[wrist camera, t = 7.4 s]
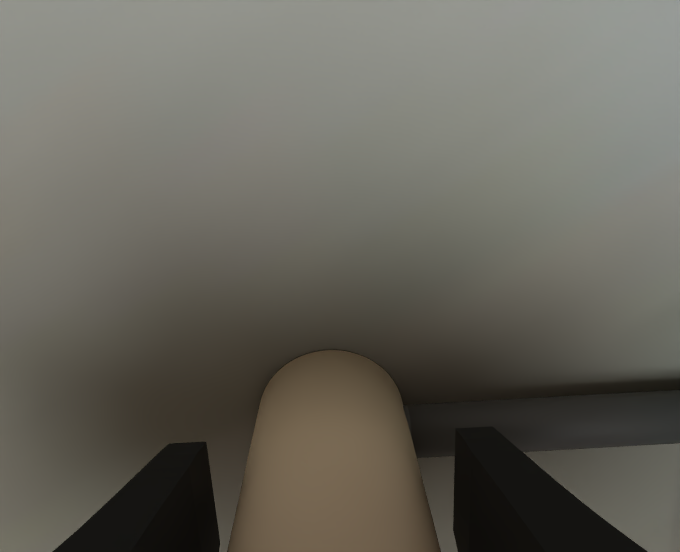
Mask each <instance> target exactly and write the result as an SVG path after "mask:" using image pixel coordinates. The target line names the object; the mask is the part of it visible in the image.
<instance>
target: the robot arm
mask: <svg viewBox="0 0 680 552" xmlns="http://www.w3.org/2000/svg"><path fill="white" fill-rule="evenodd" d="M453 531H454V535H455V540H456V544H457V549H458V552H647V551H646V550H645V549H643V548H642V547H640V546H639V545H638V544H636V543H635V542H634V541H632V540H631V539H630V538H628V537H627V536H625V535H624V534H623V533H621V532H620V531H619V530H617V529H616V528H614V527H613V526H612V525H610V524H609V523H608V522H607V521H605V520H604V519H603V518H601V517H600V516H599V515H598V514H596V513H595V512H594V511H592V510H591V509H590V508H589V507H587V506H586V505H585V504H584V503H582V502H581V501H580V500H579V499H577V498H576V497H575V496H574V495H572V494H571V493H570V492H569V491H568V490H566V489H565V488H564V487H563V486H561V485H560V484H559V483H558V482H557V481H555V480H554V479H553V478H552V477H551V476H549V475H548V474H547V473H546V472H545V471H544V470H542V469H541V468H540V467H539V466H538V465H537V464H535V463H534V462H533V461H532V460H531V459H530V458H529V457H527V456H526V455H525V454H524V453H523V452H522V451H520V450H519V449H518V448H517V447H516V446H515V445H514V444H512V443H511V442H510V441H509V440H508V439H507V438H506V437H504V436H503V435H502V434H501V433H500V432H499V431H497V430H496V429H495V428H494V427H493V426H490V427H471V428H455V473H454V522H453ZM219 547H220V539H219V531H218V524H217V517H216V510H215V503H214V495H213V488H212V481H211V474H210V466H209V459H208V452H207V445H206V442H192V443H173V444H168V445H167V446H166V447H165V448H164V449H163V450H162V451H160V452H159V453H158V454H157V455H156V456H155V457H154V458H153V459H152V460H151V461H150V462H149V463H148V464H147V465H146V466H145V467H144V468H143V469H142V470H141V471H140V472H139V473H138V474H136V475H135V476H134V477H133V478H132V479H131V480H130V481H129V482H128V483H127V484H126V485H125V486H124V487H123V488H122V489H121V490H120V491H119V492H118V493H117V494H116V495H115V496H114V497H112V498H111V499H110V500H109V501H108V502H107V503H106V504H105V505H104V506H103V507H102V508H101V509H100V510H99V511H98V512H97V513H95V514H94V515H93V516H92V517H91V518H90V519H89V520H88V521H87V522H86V523H85V524H84V525H83V526H82V527H80V528H79V529H78V530H77V531H76V532H75V533H74V534H73V535H71V536H70V537H69V538H68V539H67V540H66V541H64V542H63V543H62V544H61V545H60V546H59V547H58V548H56V549H55V550H54V551H53V552H219Z"/></svg>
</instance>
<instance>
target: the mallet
mask: <svg viewBox="0 0 680 552" xmlns="http://www.w3.org/2000/svg"><path fill="white" fill-rule="evenodd" d="M490 426H493V427H494V428H495V429H496V430H497V431H499V432H500V433H501V434H502V435H503V436H504V437H506V438H507V439H508V440H509V441H510V442H511V443H512V444H514V445H515V446H516V447H517V448H518V449H519V450H520V451H522V452H531V451H548V450H566V449H584V448H602V447H619V446H637V445H655V444H673V443H680V390H670V391H652V392H634V393H616V394H598V395H579V396H561V397H543V398H525V399H507V400H489V401H471V402H453V403H435V404H417V405H404V406H403V402H402V398H401V395H400V392H399V390H398V388H397V386H396V384H395V382H394V381H393V379H392V378H391V377H390V376H389V374H388V373H387V372H386V371H385V370H384V369H383V368H382V367H380V366H379V365H377V364H376V363H375V362H373V361H371V360H369V359H368V358H366V357H363V356H361V355H358V354H355V353H351V352H347V351H339V350H325V351H317V352H313V353H309V354H306V355H303V356H300V357H298V358H296V359H294V360H292V361H290V362H289V363H288V364H286V365H285V366H283V367H282V368H281V369H280V370H279V371H278V372H277V373H276V374H275V375H274V376H273V377H272V378H271V380H270V381H269V383H268V384H267V386H266V388H265V390H264V392H263V394H262V398H261V401H260V405H259V410H258V414H257V419H256V423H255V428H254V433H253V437H252V442H251V446H250V451H249V455H248V460H247V464H246V469H245V473H244V478H243V482H242V487H241V491H240V496H239V501H238V505H237V510H236V514H235V519H234V523H233V528H232V532H231V537H230V541H229V546H228V550H227V552H441V551H440V547H439V543H438V539H437V535H436V531H435V527H434V523H433V519H432V515H431V512H430V508H429V504H428V500H427V496H426V492H425V488H424V484H423V480H422V476H421V472H420V469H419V465H418V461H417V458H424V457H442V456H455V428H471V427H490Z"/></svg>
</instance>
